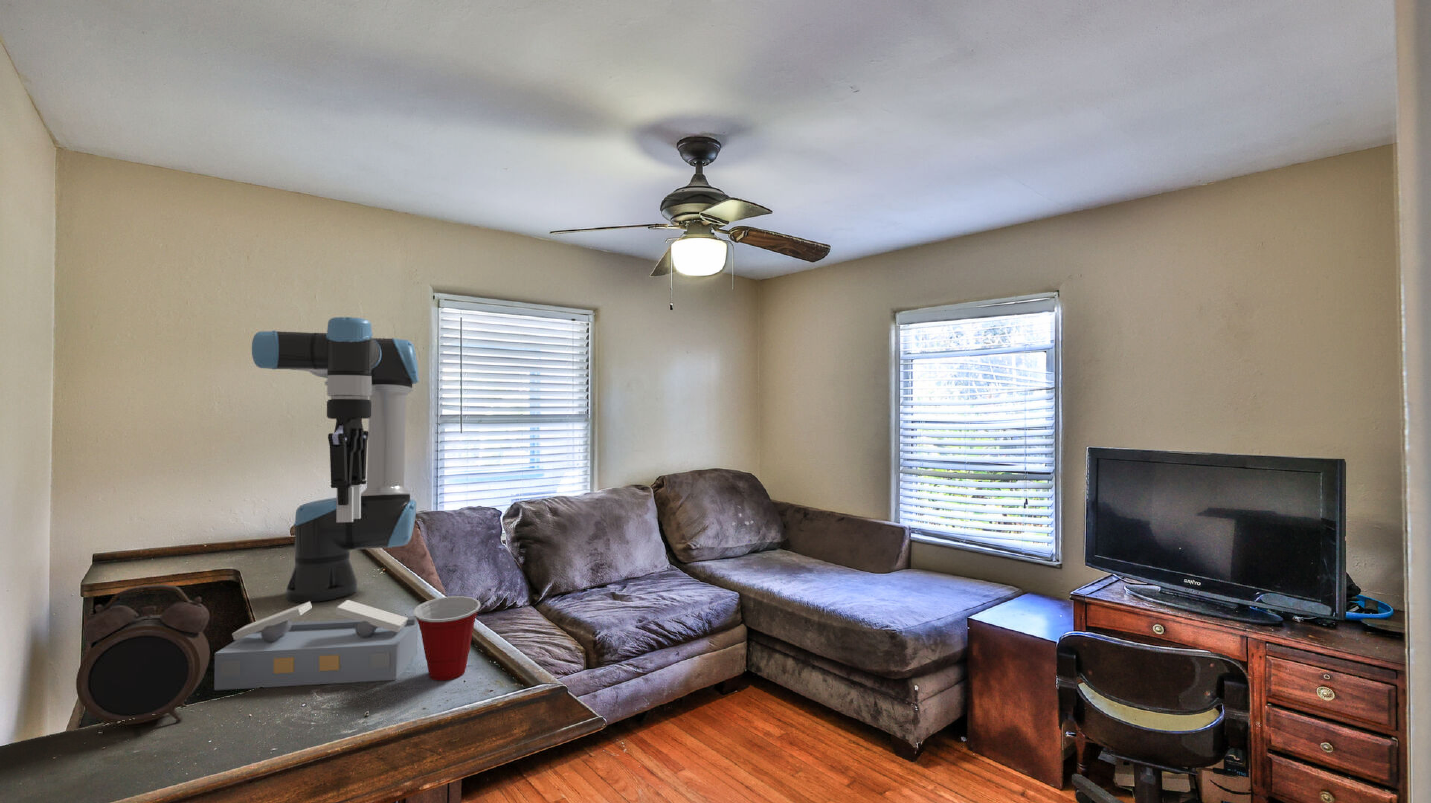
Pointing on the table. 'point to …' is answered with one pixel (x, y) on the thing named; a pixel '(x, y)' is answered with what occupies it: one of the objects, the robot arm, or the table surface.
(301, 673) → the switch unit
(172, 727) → the table surface
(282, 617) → the rocker left
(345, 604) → the rocker right
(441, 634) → the plastic cup
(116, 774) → the table surface
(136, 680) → the alarm clock
